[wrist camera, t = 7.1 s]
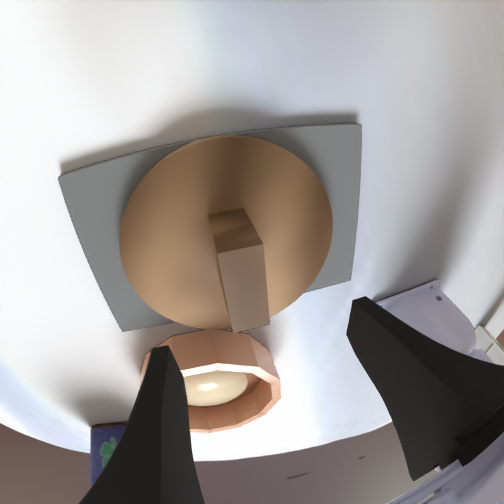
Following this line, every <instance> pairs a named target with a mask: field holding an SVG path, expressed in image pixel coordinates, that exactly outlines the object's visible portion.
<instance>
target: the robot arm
mask: <svg viewBox="0 0 504 504" xmlns="http://www.w3.org/2000/svg"><path fill="white" fill-rule="evenodd" d="M439 285H440V281H439V280H438V279H437V280H434V281H432V282H429V283H427V284H424V285H422V286H419V287H416V288H414V289H411V290H409V291H406V292H403V293H400V294H398V295H395V296H392V297H389V298H387V299H384V300H381V301H378V302H374V301H372V300H371V299H369V298H367V297H366V296H365V297H361V298H358V299H355V300H353V301H352V307H351V312H350V318H349V323H348V328H347V333H346V335H347V337H348V339H349V341H350V344H351V346H352V348H353V350H354V352H355V354H356V356H357V358H358V359H359V361H360V363H361V364H362V366H363V368H364V369H365V371H366V372H367V374H368V376H369V377H370V379H371V380H372V382H373V384H374V385H375V387H376V389H377V390H378V392H379V393H380V395H381V397H382V399H383V401H384V403H385V405H386V407H387V409H388V412H389V414H390V416H391V418H392V421H393V423H394V426H395V428H396V431H397V433H398V436H399V439H400V442H401V445H402V448H403V451H404V454H405V458H406V462H407V466H408V470H409V474H410V476H411V478H412V480H413V481H415V480H417V479H418V478H420V477H422V476H423V475H425V474H427V473H428V472H430V471H432V470H433V469H435V470H436V471H437V472H438V473H437V474H435V475H434V476H432V477H431V478H429V479H428V480H426V481H425V482H423V483H421V484H420V485H418V486H416V487H415V488H413V489H411V490H410V491H408V492H406V493H404V494H403V495H401V496H399V497H397V498H396V499H394V500H392V501H390V502H388V503H386V504H416V503H417V502H419V501H421V500H422V499H424V498H425V497H427V496H428V495H430V494H431V493H433V492H434V495H433V496H432V497H430V498H428V499H426V500H424V501H422V502H420V503H418V504H504V366H503V365H498V364H494V363H493V361H492V360H491V359H490V358H489V357H488V355H487V354H486V353H485V352H484V351H483V350H482V349H477V350H476V349H475V348H476V334H475V330H474V327H473V325H472V323H471V322H470V320H469V319H468V318H467V317H466V316H465V315H464V314H463V313H462V312H461V310H460V309H459V308H458V307H457V306H456V305H455V304H454V303H453V302H452V301H451V300H450V299H449V298H448V297H447V296H446V295H445V294H444V293H443V292H442V291H441V290H440V289H439ZM79 504H205V503H204V499H203V496H202V493H201V489H200V485H199V481H198V478H197V474H196V469H195V465H194V460H193V455H192V448H191V437H190V425H189V413H188V399H187V394H186V388H185V382H184V377H183V374H182V372H181V370H180V368H179V366H178V364H177V362H176V360H175V358H174V356H173V353H172V351H171V349H170V347H169V345H166V346H160V347H154V348H152V350H151V353H150V357H149V360H148V364H147V367H146V371H145V374H144V377H143V381H142V384H141V387H140V389H139V392H138V395H137V398H136V401H135V404H134V406H133V409H132V412H131V414H130V417H129V419H128V422H127V424H126V426H125V429H124V431H123V433H122V435H121V437H120V439H119V442H118V444H117V446H116V447H115V449H114V451H113V453H112V455H111V457H110V459H109V460H108V462H107V464H106V466H105V467H104V469H103V470H102V472H101V473H100V475H99V477H98V478H97V480H96V481H95V483H94V484H93V486H92V487H91V489H90V490H89V491H88V492H87V494H86V495H85V496H84V498H83V499H82V500H81V501H80V503H79Z"/></svg>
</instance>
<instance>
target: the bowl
mask: <svg viewBox="0 0 504 504" xmlns="http://www.w3.org/2000/svg"><path fill="white" fill-rule="evenodd" d="M166 345H169V347H170V349H171V351H172V353H173V356H174V358H175V360H176V362H177V364H178V366H179V368H180V370H181V372H182V374H183V377H184V382H185V388H186V394H187V399H188V413H189V425H190V432H199V433H211V432H216V431H222V430H227V429H232V428H236V427H240V426H243V425H245V424H247V423H249V422H251V421H253V420H255V419H257V418H259V417H261V416H263V415H265V414H266V413H267V412H268V411H269V410H270V409H271V408H272V407H273V406H274V405H275V404H276V402H277V401H278V400H279V399H280V398H281V388H280V378H279V376H278V373H277V370H276V368H275V365H274V362H273V360H272V357H271V354H270V352H269V349H267V348H266V347H265V346H263V345H262V344H261V343H259V342H258V341H257V340H255V339H254V338H253V337H252V336H250V335H249V334H246V333H239V332H236V333H233V332H232V331H225V330H219V329H205V330H201V331H196V332H191V333H186V334H181V335H175V336H171V337H170V338H168V339H167V340H165V341H164V342H163V343H161V344H160V345H158V346H157V347H160V346H166ZM150 353H151V351H150V352H148V353H147V354H146V355H145V359H144V362H143V366H142V370H141V374H140V387H141V384H142V381H143V377H144V374H145V371H146V367H147V364H148V360H149V357H150Z"/></svg>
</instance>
